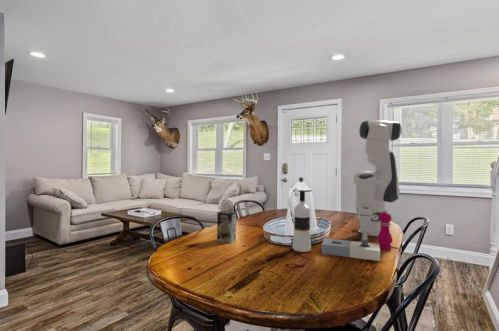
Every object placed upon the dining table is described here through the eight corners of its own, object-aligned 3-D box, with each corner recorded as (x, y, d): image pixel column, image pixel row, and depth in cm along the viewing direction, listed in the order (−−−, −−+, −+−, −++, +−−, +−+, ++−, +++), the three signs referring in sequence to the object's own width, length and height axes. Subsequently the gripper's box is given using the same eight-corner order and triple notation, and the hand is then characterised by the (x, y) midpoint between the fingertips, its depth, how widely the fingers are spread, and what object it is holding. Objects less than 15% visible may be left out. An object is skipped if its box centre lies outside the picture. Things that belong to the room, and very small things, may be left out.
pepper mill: (394, 250, 144) (394, 211, 143) (378, 249, 145) (379, 210, 145) (390, 246, 151) (390, 208, 150) (375, 245, 152) (376, 208, 152)
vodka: (291, 247, 149) (291, 189, 148) (308, 246, 149) (309, 189, 148) (294, 252, 139) (295, 191, 139) (313, 252, 140) (313, 191, 139)
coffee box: (216, 241, 158) (216, 212, 158) (222, 238, 164) (222, 210, 164) (231, 243, 154) (231, 213, 154) (236, 240, 160) (236, 211, 160)
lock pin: (360, 253, 139) (361, 225, 139) (368, 254, 138) (368, 225, 137) (360, 255, 136) (361, 226, 136) (368, 256, 134) (368, 227, 134)
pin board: (324, 246, 150) (324, 238, 150) (379, 253, 140) (379, 243, 140) (321, 253, 139) (321, 244, 138) (380, 261, 129) (380, 251, 129)
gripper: (358, 204, 147) (358, 231, 147) (357, 211, 128) (357, 242, 128) (372, 205, 145) (371, 232, 145) (373, 212, 126) (372, 243, 126)
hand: (364, 237), depth 137 cm, fingers open, 8 cm apart
